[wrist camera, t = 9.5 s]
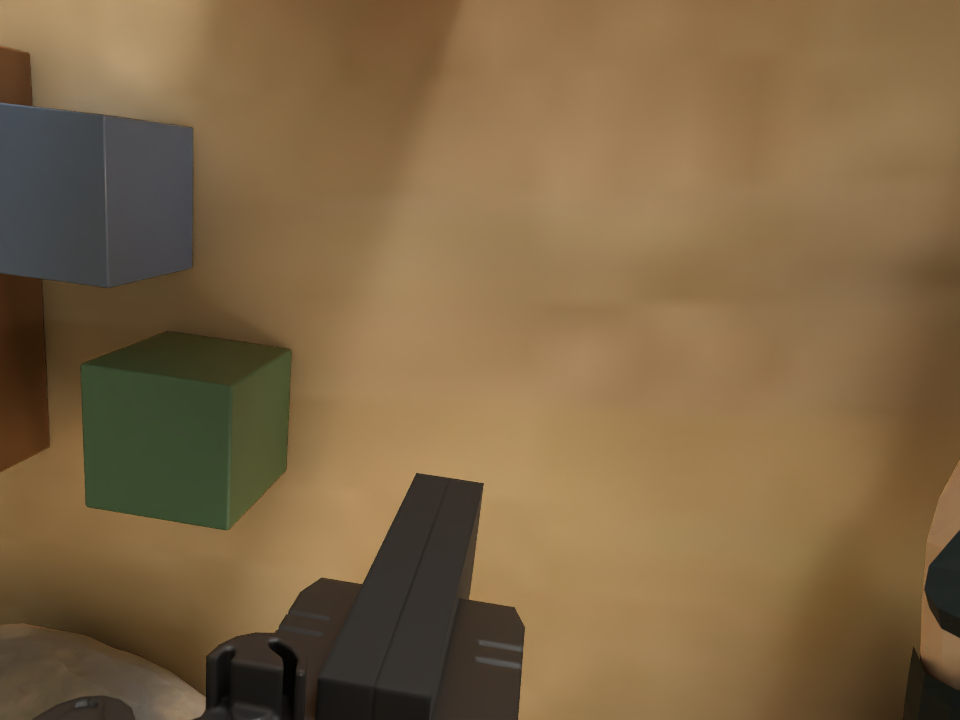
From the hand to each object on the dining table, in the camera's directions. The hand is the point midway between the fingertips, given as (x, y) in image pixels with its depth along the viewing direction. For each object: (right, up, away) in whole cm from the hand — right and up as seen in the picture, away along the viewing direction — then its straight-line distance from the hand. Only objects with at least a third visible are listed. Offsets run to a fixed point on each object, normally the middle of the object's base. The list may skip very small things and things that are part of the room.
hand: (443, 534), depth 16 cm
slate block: (-9, +9, +5) cm, 14 cm away
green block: (-7, +3, +6) cm, 10 cm away
